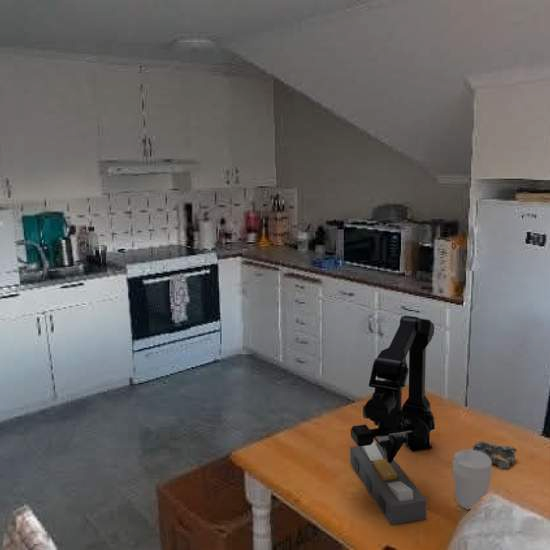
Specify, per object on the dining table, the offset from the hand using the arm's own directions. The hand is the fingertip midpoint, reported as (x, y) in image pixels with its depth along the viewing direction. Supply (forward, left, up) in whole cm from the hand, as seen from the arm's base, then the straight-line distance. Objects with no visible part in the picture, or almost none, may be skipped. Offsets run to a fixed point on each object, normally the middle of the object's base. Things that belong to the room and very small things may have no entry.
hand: (389, 462), depth 142 cm
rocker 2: (0, -3, -5) cm, 6 cm away
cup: (-18, +8, -9) cm, 22 cm away
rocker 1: (0, -12, -5) cm, 13 cm away
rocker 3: (0, +7, -5) cm, 9 cm away
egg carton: (-35, -8, -10) cm, 37 cm away
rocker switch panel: (0, -3, -9) cm, 9 cm away
